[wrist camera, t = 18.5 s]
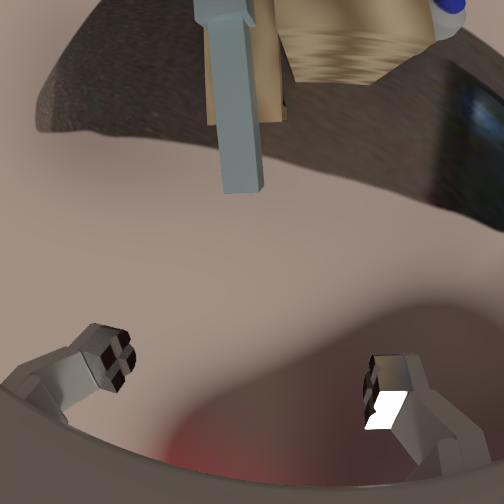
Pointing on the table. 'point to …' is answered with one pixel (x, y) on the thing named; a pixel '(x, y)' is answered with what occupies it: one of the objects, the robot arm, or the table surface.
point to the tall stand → (351, 37)
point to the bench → (257, 67)
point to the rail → (234, 91)
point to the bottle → (447, 17)
